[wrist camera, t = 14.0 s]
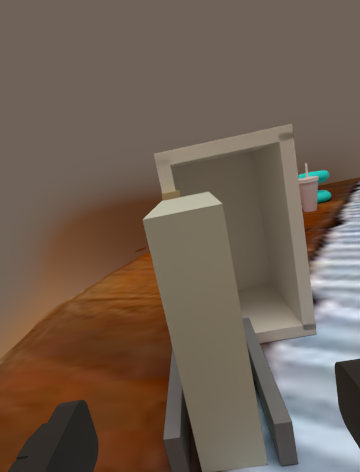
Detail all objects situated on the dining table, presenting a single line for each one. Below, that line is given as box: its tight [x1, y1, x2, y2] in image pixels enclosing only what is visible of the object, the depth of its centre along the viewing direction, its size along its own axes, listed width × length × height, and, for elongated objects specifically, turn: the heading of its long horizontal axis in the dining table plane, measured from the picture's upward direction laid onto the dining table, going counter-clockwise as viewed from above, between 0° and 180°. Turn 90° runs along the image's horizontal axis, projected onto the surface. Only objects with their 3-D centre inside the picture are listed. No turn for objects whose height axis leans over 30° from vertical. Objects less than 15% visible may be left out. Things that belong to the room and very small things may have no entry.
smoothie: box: [298, 163, 319, 212], centre depth 83 cm, size 6×6×14 cm
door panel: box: [143, 192, 268, 472], centre depth 20 cm, size 4×10×16 cm, turn 178°
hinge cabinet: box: [154, 124, 316, 472], centre depth 26 cm, size 14×24×20 cm, turn 178°
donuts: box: [298, 170, 331, 203], centre depth 96 cm, size 10×10×10 cm
